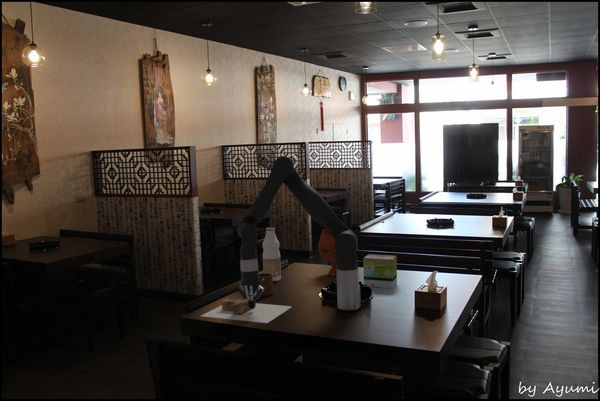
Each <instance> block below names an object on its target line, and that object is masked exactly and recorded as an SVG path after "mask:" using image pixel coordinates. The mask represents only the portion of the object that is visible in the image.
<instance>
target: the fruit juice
mask: <svg viewBox="0 0 600 401" xmlns="http://www.w3.org/2000/svg"><path fill="white" fill-rule="evenodd" d="M275 231H276V228H275V227H266V228H265V232H266V233H265V237H264V240H263V242H262V249H263V252H262V268H263V269H262V270H263V273H262V274H272V277H273V282H277V281H280V280H281V279H282V273H281V272H282V269H281V265H282V264H281V253H280V252H281V251H280V250H279V249H280V241H279V240H278V237H277V235H276V233H275Z"/></svg>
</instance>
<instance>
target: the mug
mask: <svg viewBox="0 0 600 401" xmlns="http://www.w3.org/2000/svg"><path fill="white" fill-rule="evenodd" d="M259 283H260V286H261V287H264V288H265V290H264V291H263V293H262V294H261V296H260V297H268V296H272V295H274V281H273V277H272V274H264V273H260V274H259Z"/></svg>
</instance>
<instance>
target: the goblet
mask: <svg viewBox="0 0 600 401" xmlns="http://www.w3.org/2000/svg"><path fill="white" fill-rule="evenodd" d="M317 251H318V254H319V255H320V257H321V258H322V259H323V260H324V261H325V262H327V263H329V264H330V266H331V269H329V270H328V273H327V274H328V276H332V277H334V276H335V277H337V268H336V260H335V239H334V238H333V236H332V235H331V234H330V233H329V231H328V230H327V229H326V228H324V229H322V230H321V234H320V237H319V241H318V245H317Z"/></svg>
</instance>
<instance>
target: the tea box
mask: <svg viewBox="0 0 600 401" xmlns="http://www.w3.org/2000/svg"><path fill="white" fill-rule="evenodd" d="M397 261H398V259H397V255H390V254H389V255H386V254H383V255H382V254H367V255H366V256H364V257H363V258H362V263H363V264H362V269H363V270H362V271H363V272H362V273H363V285H364V284H365V285H367V286H366V287H370V288H371V287H373V288H384V289H394V287H396V286H397V284H398V283H397V282H398V272H397V271H398V270H397V269H398V266H397V265H398V262H397Z"/></svg>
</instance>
